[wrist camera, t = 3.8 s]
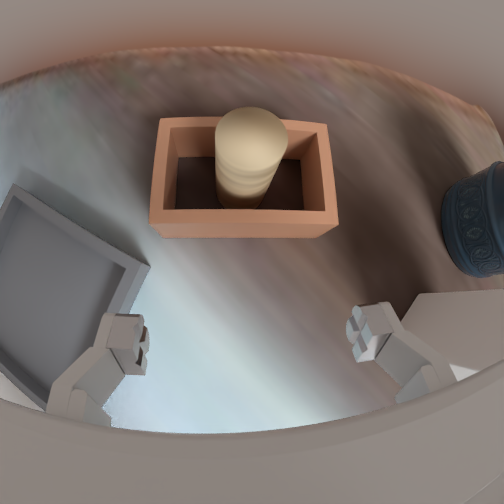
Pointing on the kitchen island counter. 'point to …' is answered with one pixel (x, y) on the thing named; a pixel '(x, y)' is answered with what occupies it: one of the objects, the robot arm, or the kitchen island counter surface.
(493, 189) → the canister
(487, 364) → the milk carton
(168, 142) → the terracotta planter box
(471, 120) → the kitchen island counter surface
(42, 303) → the charcoal tray
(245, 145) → the birch peg
